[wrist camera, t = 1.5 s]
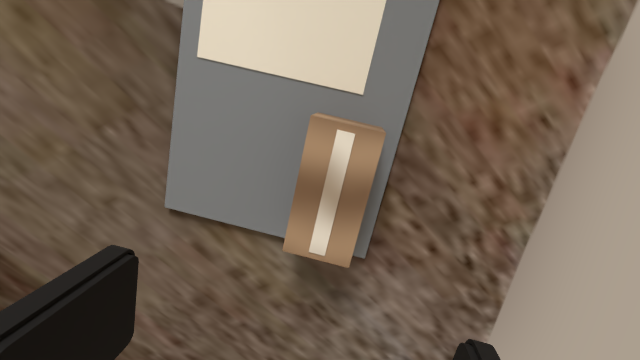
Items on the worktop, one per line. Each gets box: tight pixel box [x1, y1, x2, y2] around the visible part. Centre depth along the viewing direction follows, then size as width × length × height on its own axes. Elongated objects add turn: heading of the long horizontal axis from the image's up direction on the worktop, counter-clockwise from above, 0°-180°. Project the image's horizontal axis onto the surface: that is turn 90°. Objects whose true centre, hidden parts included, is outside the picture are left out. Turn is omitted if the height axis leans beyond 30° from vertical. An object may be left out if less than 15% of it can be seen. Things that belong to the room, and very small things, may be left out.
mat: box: [165, 0, 439, 259], centre depth 25 cm, size 24×18×1 cm
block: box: [282, 112, 386, 268], centre depth 24 cm, size 10×5×4 cm, turn 167°
